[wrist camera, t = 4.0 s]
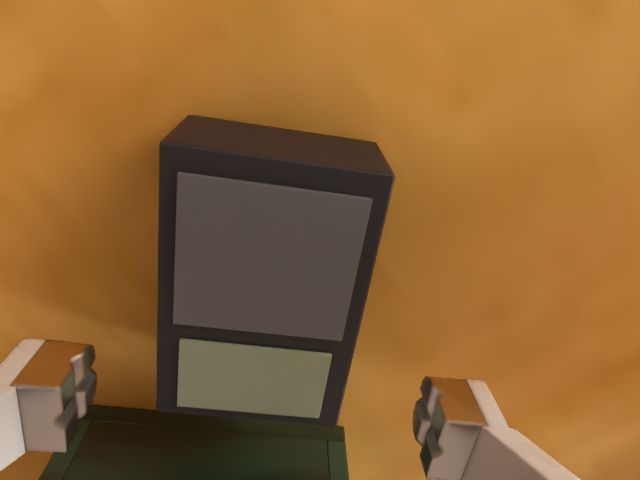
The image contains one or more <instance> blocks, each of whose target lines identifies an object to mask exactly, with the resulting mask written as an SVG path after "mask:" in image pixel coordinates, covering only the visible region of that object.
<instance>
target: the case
mask: <svg viewBox="0 0 640 480" xmlns="http://www.w3.org/2000/svg"><path fill="white" fill-rule="evenodd" d="M78 424H79V430H78V431H77V433H76V435H75V437H74V439H73V440H72V442H71V444H70V446H69V448H68V450H67V451H66V452H54V453H53V455H52V457H51V458H50V460H49V462H48V464H47V466H46V467H45V469H44V471H43V473H42V475H41V476H40V478H39V480H349V473H348V463H347V453H346V444H345V434H344V427H339V426H327V425H315V424H303V423H292V422H280V421H268V420H256V419H244V418H233V417H221V416H209V415H197V414H186V413H174V412H162V411H151V410H139V409H128V408H116V407H104V406H92V405H91V407H90V409H89V411H88V413H87V414H86V415H84V416H83V417H81V418H80V419H78Z"/></svg>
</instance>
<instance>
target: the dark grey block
mask: <svg viewBox="0 0 640 480" xmlns="http://www.w3.org/2000/svg"><path fill="white" fill-rule="evenodd" d="M394 179H395V175H394V173H393V171H392V169H391V168H390V166H389V164H388V162H387V161H386V159H385V157H384V155H383V154H382V152H381V150H380V148H379V147H378V145H377V143H375V142H370V141H363V140H356V139H350V138H343V137H336V136H329V135H323V134H316V133H309V132H302V131H296V130H289V129H282V128H275V127H269V126H262V125H255V124H248V123H242V122H235V121H228V120H221V119H215V118H208V117H201V116H194V115H188V116H187V117H186V118H185V119H184V120H183V121H182V122H181V123H180V124H179V125H178V126H177V127H176V128H175V129H173V130H172V131H171V132H170V133H169V134H168V135H167V136H166V137H165V138H164V139H163V140H162V141H161V142H160V147H159V232H158V316H157V400H156V408H157V411H162V412H174V413H186V414H197V415H209V416H221V417H233V418H244V419H256V420H268V421H280V422H292V423H303V424H315V425H327V426H336V425H337V422H338V418H339V414H340V409H341V405H342V401H343V396H344V392H345V388H346V384H347V379H348V375H349V371H350V367H351V362H352V358H353V354H354V350H355V345H356V341H357V337H358V333H359V328H360V324H361V320H362V316H363V311H364V307H365V303H366V299H367V294H368V290H369V286H370V281H371V277H372V273H373V269H374V264H375V260H376V256H377V252H378V247H379V243H380V239H381V235H382V230H383V226H384V222H385V218H386V213H387V209H388V205H389V201H390V196H391V192H392V188H393V183H394Z"/></svg>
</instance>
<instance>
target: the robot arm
mask: <svg viewBox="0 0 640 480" xmlns="http://www.w3.org/2000/svg"><path fill="white" fill-rule="evenodd" d="M94 360H95V349H94V347H93V346H92V345H89V344H80V343H72V342H63V341H55V340H43V339H34V338H25V339H23V340H21V341H20V342H19V343H18V344H17V345H16V347H15V348H14V349H13V350H12V351H11V352H10V353H9V355H8V356H7V357H6V358H5V359H4V360H3V361H2V363H1V364H0V471H2V470H3V469H4V468H6V467H7V466H8V465H10V464H11V463H12V462H14V461H15V460H16V459H18V458H19V457H20V456H22V455H23V454H24V453H25V451H46V452H66V451H67V450H68V448H69V446H70V444H71V442H72V440H73V439H74V437H75V435H76V433H77V431H78V430H79V424H78V419H80V418H81V417H83V416H84V415H86V414H87V413H88V411H89V409H90V407H91V405H92V402H93V399H94V396H95V392H96V385H97V376H96V373H95V372H94V370H93V369H92V368H91V366H92V364H93V362H94ZM420 390H421V393H422V396H423V397H421V398H420V399H419V400H418V401H416V404H415V408H414V411H413V431H414V435H415V439H416V441H417V442H418V443H419V444H420V445H421V446H422V450H421V453H420V458H421V461H422V465H423V468H424V472H425V475H426V479H436V480H580V479H579V478H578V477H577V476H575V475H574V474H573V473H571V472H570V471H569V470H568V469H566V468H565V467H564V466H562V465H561V464H560V463H559V462H557V461H556V460H555V459H553V458H552V457H551V456H550V455H548V454H547V453H546V452H544V451H543V450H542V449H541V448H539V447H538V446H537V445H535V444H534V443H533V442H532V441H530V440H529V439H528V438H526V437H525V436H524V435H522V434H521V433H520V432H519V431H517V430H516V429H510V428H509V426H508V424H507V422H506V420H505V418H504V417H503V415H502V413H501V411H500V409H499V407H498V405H497V403H496V401H495V399H494V397H493V395H492V393H491V392H490V390H489V388H488V386H487V384H486V383H485V382H484V381H483V380H471V379H463V380H462V379H452V378H441V377H429V376H425V378H424V379H423V381H422V384H421V387H420Z"/></svg>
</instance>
